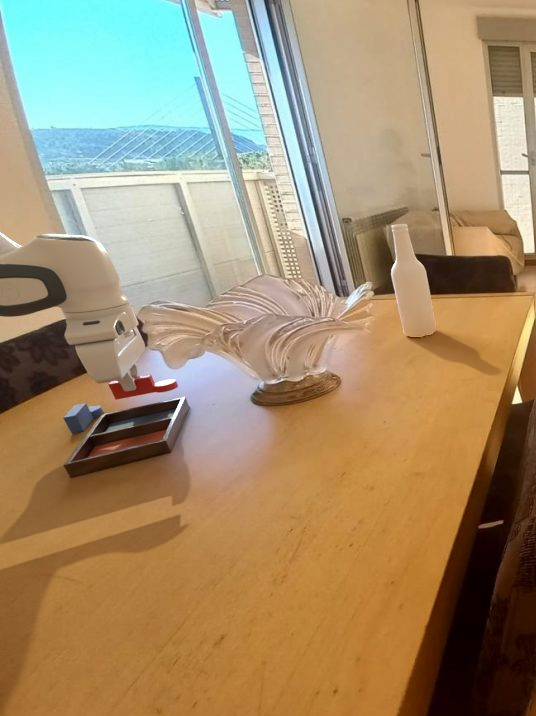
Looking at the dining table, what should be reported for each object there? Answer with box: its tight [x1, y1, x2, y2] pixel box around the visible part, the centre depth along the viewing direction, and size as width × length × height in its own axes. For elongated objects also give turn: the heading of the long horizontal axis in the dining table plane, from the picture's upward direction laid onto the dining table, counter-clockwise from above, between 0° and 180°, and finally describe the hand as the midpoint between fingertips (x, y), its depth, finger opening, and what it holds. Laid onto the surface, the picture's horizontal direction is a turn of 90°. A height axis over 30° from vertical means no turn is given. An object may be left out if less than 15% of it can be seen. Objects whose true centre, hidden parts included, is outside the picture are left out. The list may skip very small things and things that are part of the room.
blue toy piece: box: [62, 402, 105, 434], centre depth 91 cm, size 9×4×3 cm, turn 33°
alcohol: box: [390, 223, 437, 337], centre depth 129 cm, size 9×9×30 cm
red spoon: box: [108, 374, 179, 401], centre depth 96 cm, size 9×4×3 cm, turn 123°
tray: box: [62, 396, 190, 479], centre depth 85 cm, size 12×20×2 cm, turn 33°
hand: (133, 386), depth 95 cm, fingers closed on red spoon
